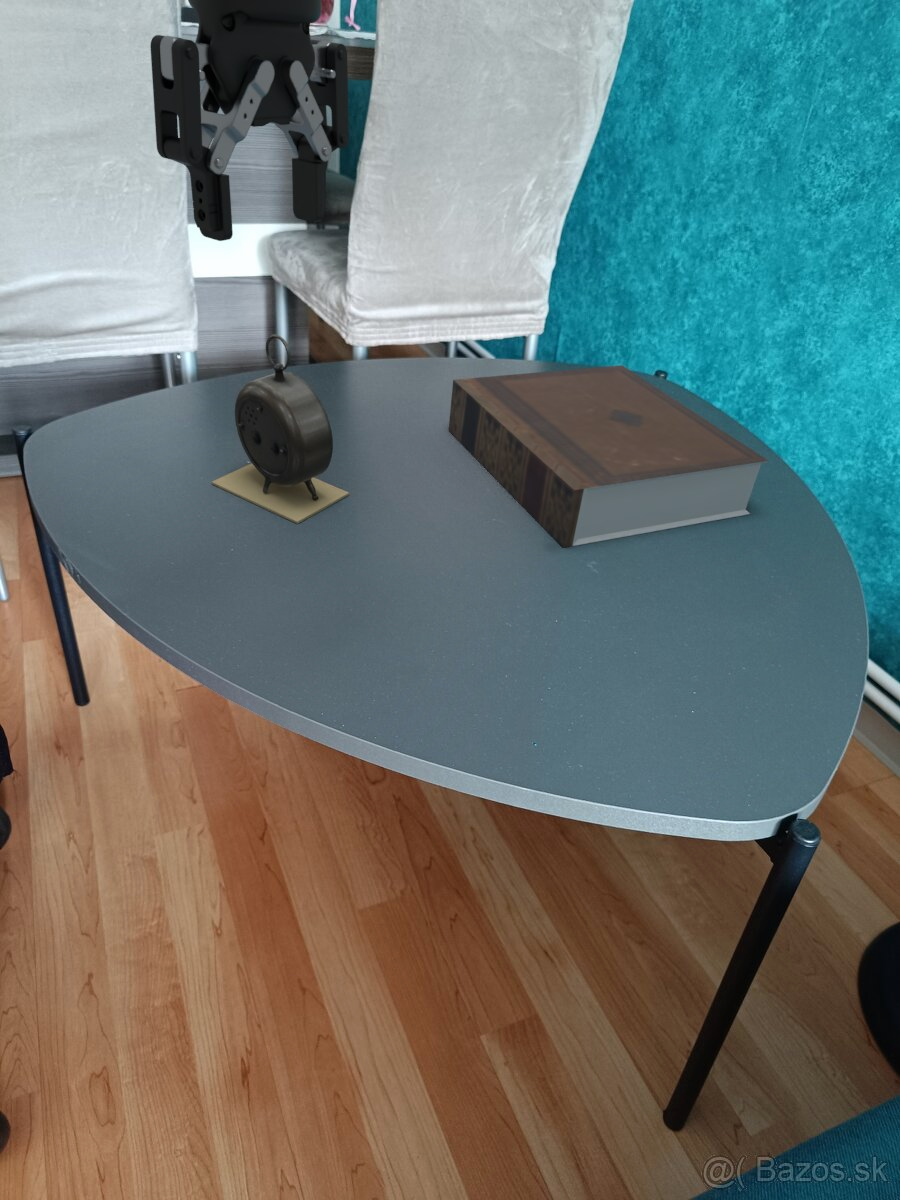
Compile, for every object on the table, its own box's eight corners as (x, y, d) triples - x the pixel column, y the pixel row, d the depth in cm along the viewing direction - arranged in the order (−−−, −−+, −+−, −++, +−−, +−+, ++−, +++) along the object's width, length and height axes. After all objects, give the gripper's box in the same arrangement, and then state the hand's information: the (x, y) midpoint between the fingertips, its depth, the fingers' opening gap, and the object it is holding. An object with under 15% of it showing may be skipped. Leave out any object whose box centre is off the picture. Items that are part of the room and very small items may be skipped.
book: (562, 547, 83) (574, 490, 79) (448, 430, 103) (453, 379, 99) (750, 513, 92) (768, 460, 89) (612, 412, 112) (622, 365, 109)
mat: (297, 524, 82) (297, 521, 82) (211, 484, 87) (211, 481, 87) (349, 495, 88) (349, 492, 88) (265, 459, 93) (265, 456, 93)
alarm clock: (335, 500, 86) (337, 346, 77) (294, 517, 83) (290, 358, 73) (270, 461, 92) (264, 314, 82) (229, 475, 88) (217, 323, 79)
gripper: (290, -76, 52) (295, 205, 61) (95, -110, 42) (138, 232, 51) (385, -69, 49) (376, 226, 58) (200, -104, 39) (225, 258, 48)
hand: (264, 228), depth 55 cm, fingers open, 8 cm apart
